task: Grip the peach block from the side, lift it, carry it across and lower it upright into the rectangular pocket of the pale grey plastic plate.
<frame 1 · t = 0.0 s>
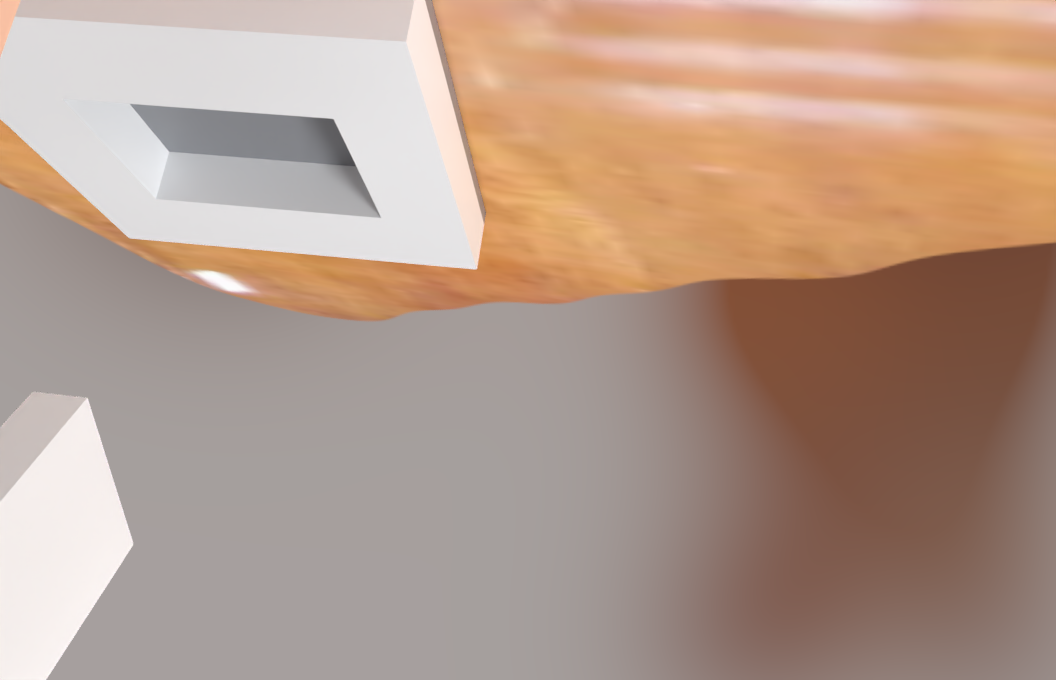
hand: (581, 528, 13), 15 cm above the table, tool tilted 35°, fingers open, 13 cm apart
pocket plate: (251, 98, 33), on the table
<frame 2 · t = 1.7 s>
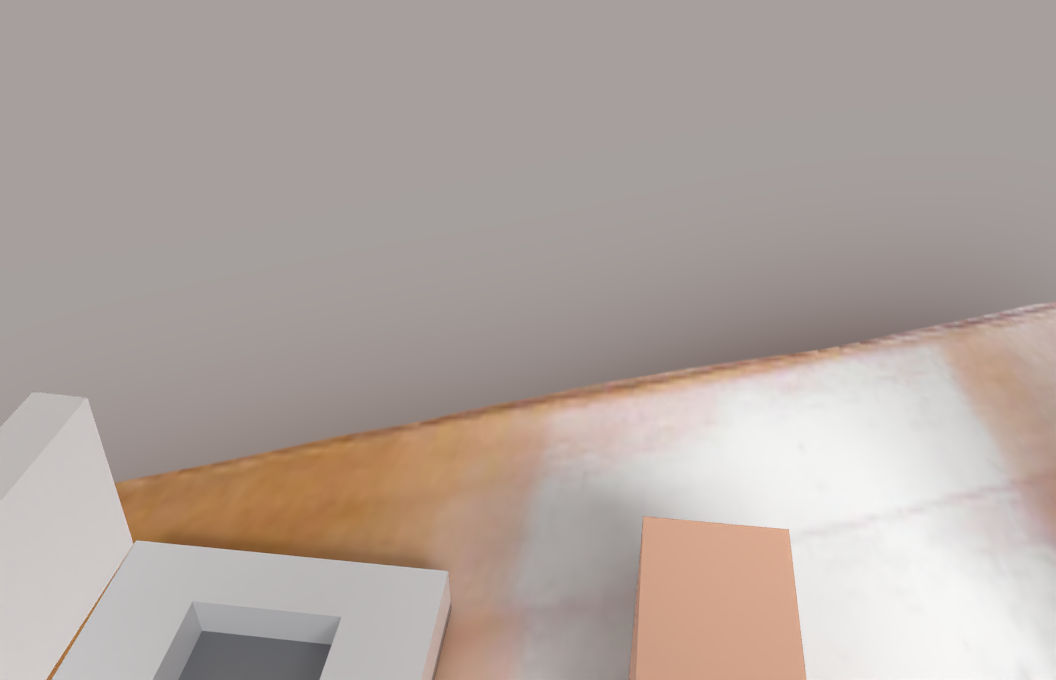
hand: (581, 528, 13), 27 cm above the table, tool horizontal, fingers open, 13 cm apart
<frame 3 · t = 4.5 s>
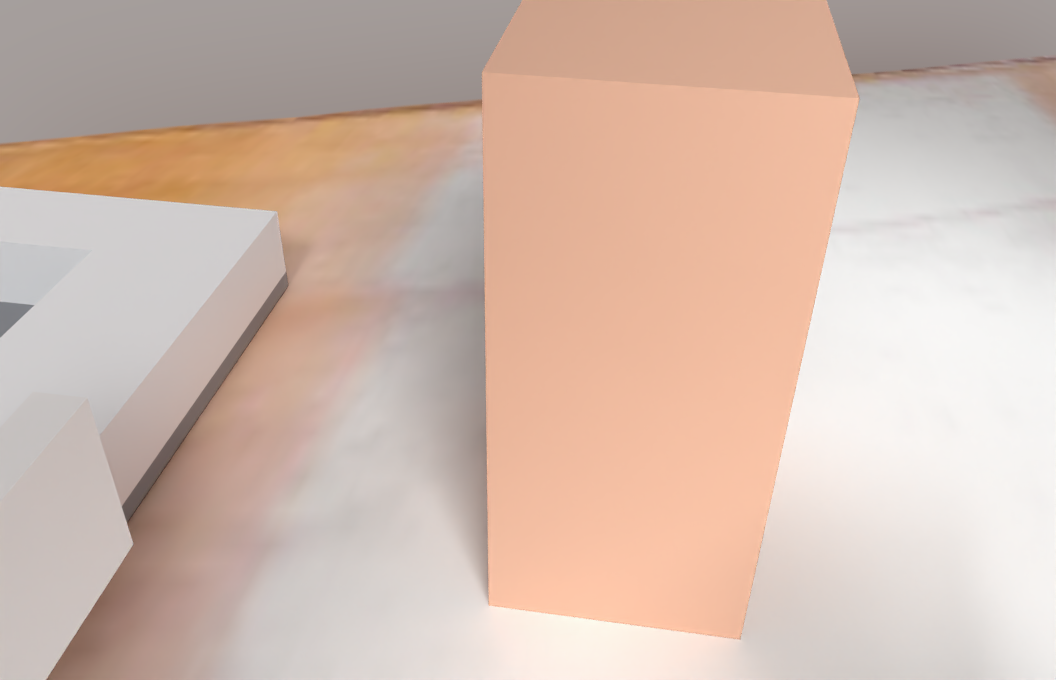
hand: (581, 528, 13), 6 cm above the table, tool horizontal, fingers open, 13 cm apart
peach block: (625, 498, 22), on the table
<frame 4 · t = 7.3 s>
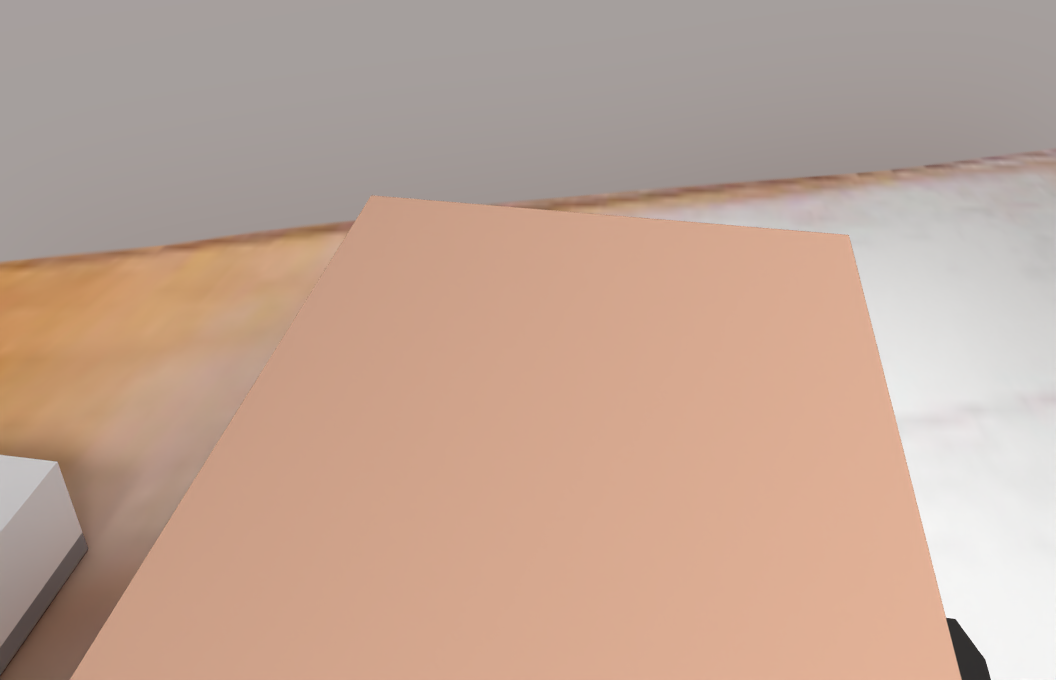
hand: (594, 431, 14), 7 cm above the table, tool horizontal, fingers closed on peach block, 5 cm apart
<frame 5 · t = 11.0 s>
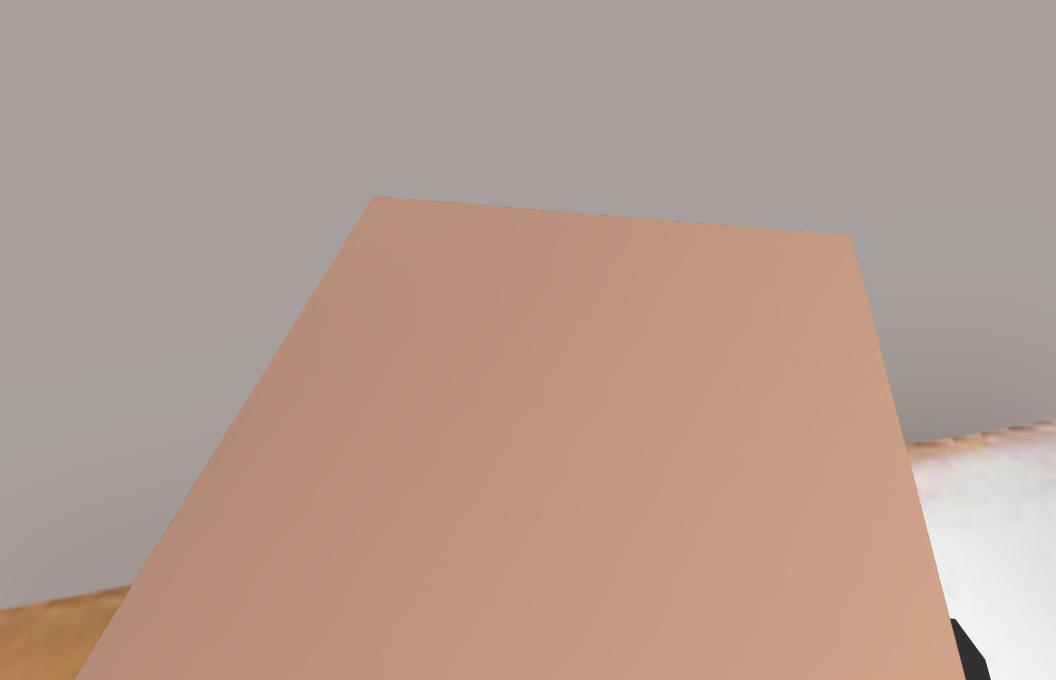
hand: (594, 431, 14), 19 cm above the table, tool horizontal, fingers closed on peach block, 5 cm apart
when the fingers open (8 cm above the table, at t = 15.2 s): peach block stays where it is, resting on pocket plate.
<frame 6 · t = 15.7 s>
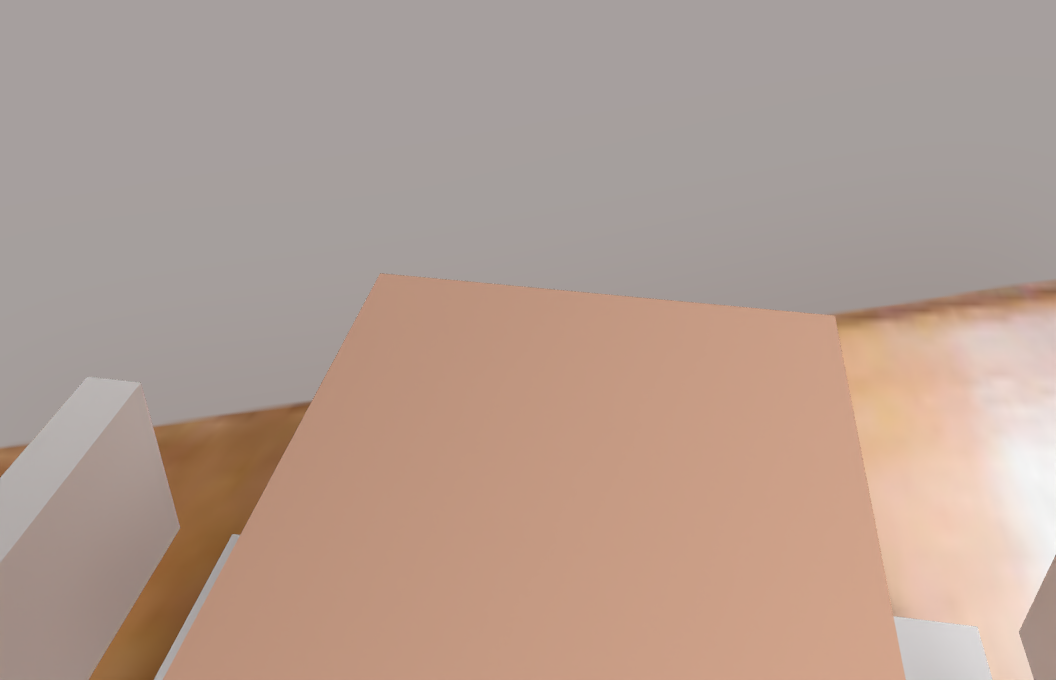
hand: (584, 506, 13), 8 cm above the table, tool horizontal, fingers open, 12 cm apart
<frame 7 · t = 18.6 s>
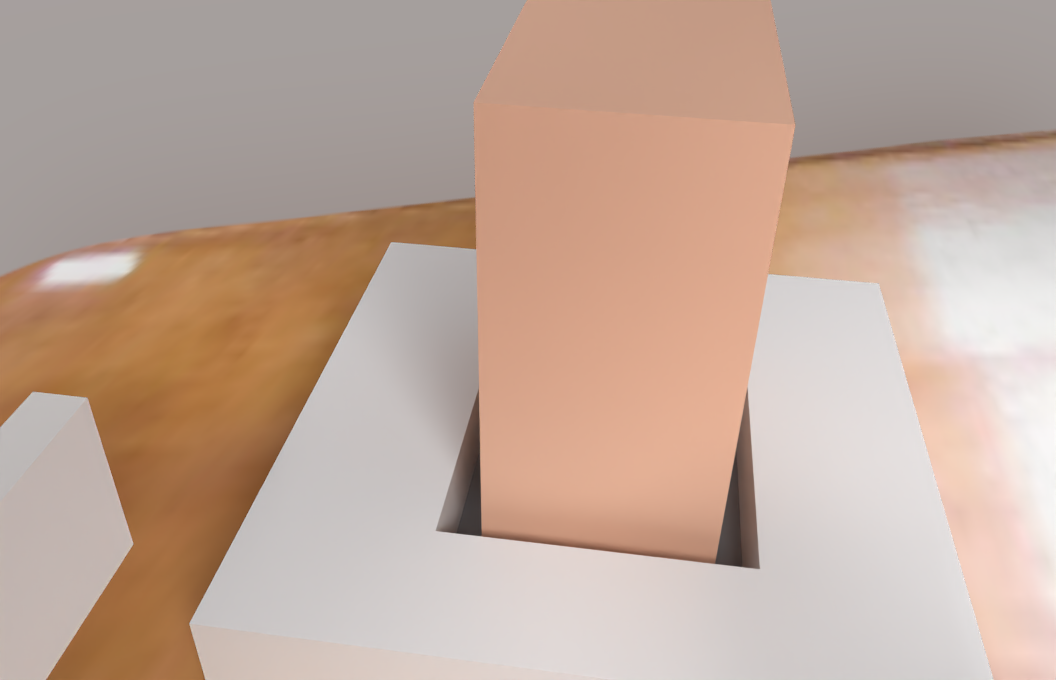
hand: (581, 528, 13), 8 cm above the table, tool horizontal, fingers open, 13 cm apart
peach block: (606, 479, 24), resting on pocket plate
pocket plate: (604, 492, 25), on the table
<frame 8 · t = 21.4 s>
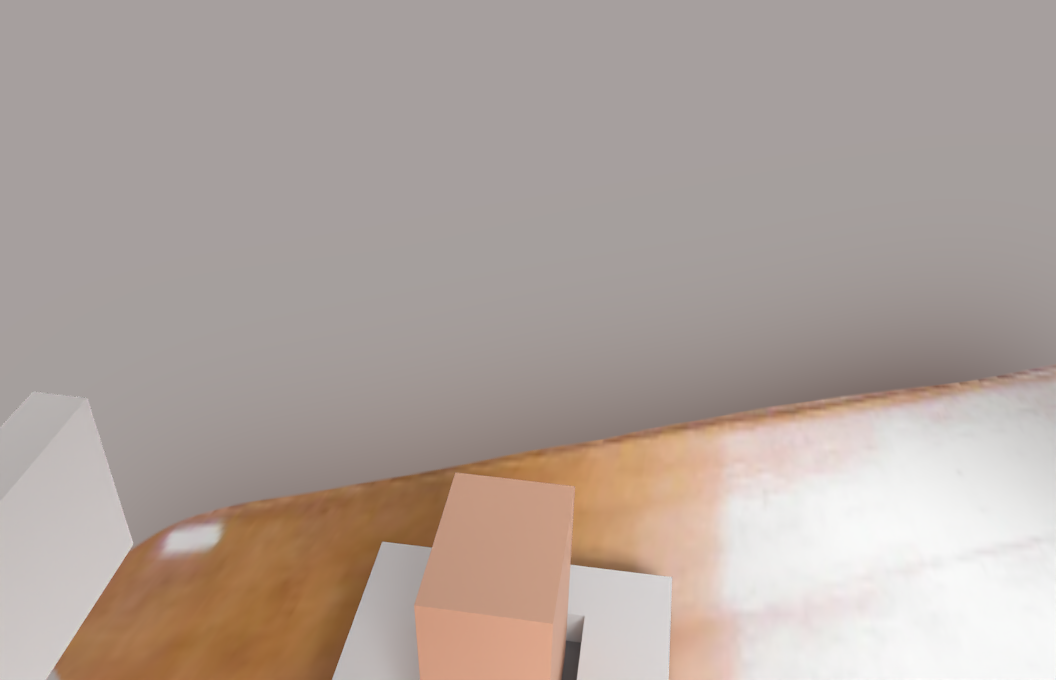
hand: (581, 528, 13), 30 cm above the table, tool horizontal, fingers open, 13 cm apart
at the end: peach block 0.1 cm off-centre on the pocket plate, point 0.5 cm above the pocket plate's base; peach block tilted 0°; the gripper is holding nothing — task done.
